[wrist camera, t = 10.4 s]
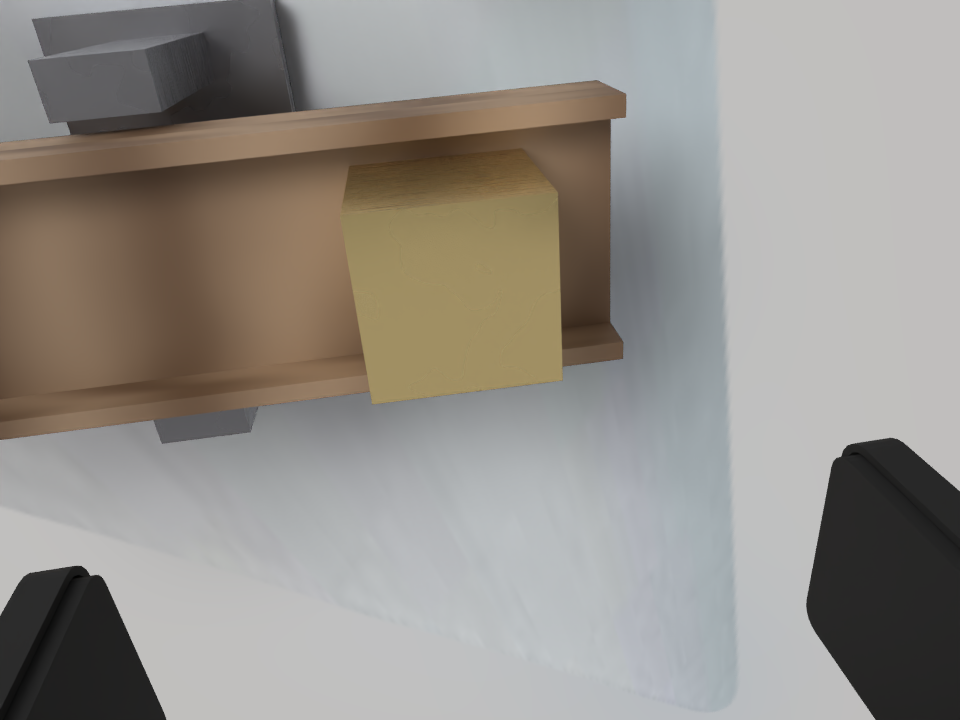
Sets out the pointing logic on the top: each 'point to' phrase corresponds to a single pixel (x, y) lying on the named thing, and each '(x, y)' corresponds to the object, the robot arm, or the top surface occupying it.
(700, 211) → the top surface
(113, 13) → the pivot stand
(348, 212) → the block
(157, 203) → the beam
